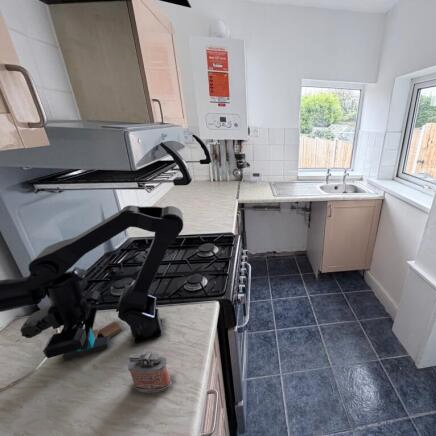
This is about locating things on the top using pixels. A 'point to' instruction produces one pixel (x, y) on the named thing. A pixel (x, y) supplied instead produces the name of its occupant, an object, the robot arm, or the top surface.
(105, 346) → the wiper
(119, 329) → the brown flat square block
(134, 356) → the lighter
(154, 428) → the top surface
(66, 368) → the top surface
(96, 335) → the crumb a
